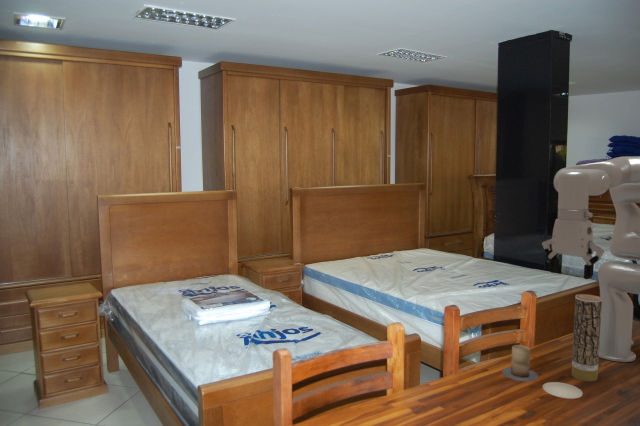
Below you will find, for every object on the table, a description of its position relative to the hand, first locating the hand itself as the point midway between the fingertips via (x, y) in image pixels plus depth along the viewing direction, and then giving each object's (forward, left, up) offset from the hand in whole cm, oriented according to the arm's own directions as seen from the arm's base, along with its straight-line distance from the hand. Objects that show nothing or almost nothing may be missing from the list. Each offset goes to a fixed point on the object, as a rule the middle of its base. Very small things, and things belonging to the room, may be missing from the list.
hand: (570, 275), depth 142 cm
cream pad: (+7, +3, -32) cm, 33 cm away
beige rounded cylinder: (+7, -10, -31) cm, 33 cm away
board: (+7, -3, -32) cm, 33 cm away
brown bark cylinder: (-7, +2, -32) cm, 33 cm away
